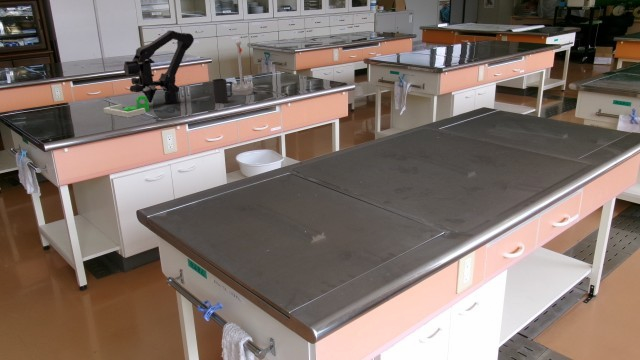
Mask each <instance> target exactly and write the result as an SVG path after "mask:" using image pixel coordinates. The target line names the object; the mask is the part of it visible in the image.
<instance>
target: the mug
mask: <svg viewBox="0 0 640 360" xmlns="http://www.w3.org/2000/svg"><path fill="white" fill-rule="evenodd" d="M232 84H233V82H232V81H227V79H226V78H215V79H212V89H213V99H214V104H217V103H223V104H227V103H229V98H231V97H232V95H233V91H232ZM227 85H229V87H230V94H229V95H228V87H227Z"/></svg>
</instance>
